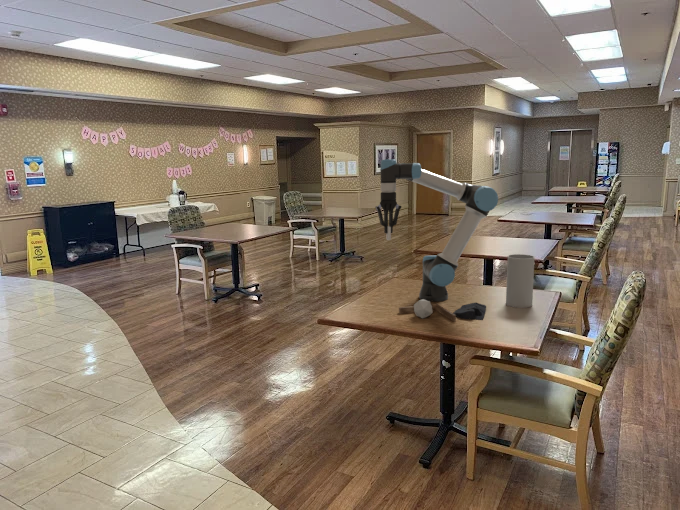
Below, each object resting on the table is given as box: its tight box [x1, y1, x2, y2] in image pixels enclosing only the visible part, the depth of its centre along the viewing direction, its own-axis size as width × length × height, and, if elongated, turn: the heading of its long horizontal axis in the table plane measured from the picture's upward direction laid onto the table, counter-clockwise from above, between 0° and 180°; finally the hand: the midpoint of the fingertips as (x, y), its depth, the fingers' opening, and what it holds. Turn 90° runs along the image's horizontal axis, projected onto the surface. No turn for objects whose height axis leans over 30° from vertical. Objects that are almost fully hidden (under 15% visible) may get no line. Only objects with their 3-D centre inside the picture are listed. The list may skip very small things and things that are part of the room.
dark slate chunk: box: [452, 302, 487, 321], centre depth 248 cm, size 15×22×5 cm
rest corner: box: [398, 303, 457, 322], centre depth 243 cm, size 20×20×3 cm
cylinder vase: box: [505, 253, 535, 309], centre depth 258 cm, size 12×12×25 cm
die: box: [413, 299, 433, 319], centre depth 243 cm, size 8×9×10 cm
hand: (388, 239), depth 256 cm, fingers closed
